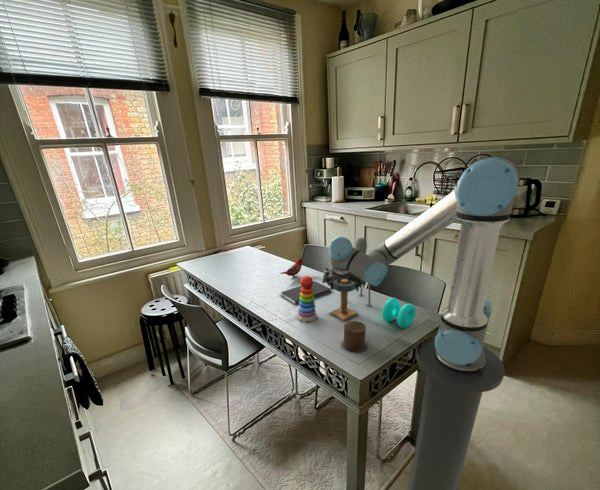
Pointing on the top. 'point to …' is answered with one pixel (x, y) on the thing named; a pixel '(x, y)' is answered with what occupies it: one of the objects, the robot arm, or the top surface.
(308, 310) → the stacking toy
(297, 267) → the decorative bird figurine
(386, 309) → the teal toy dumbbell
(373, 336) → the top surface
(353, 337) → the stand
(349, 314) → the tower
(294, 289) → the notebook
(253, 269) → the top surface
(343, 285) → the gray octagonal ring
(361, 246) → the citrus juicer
